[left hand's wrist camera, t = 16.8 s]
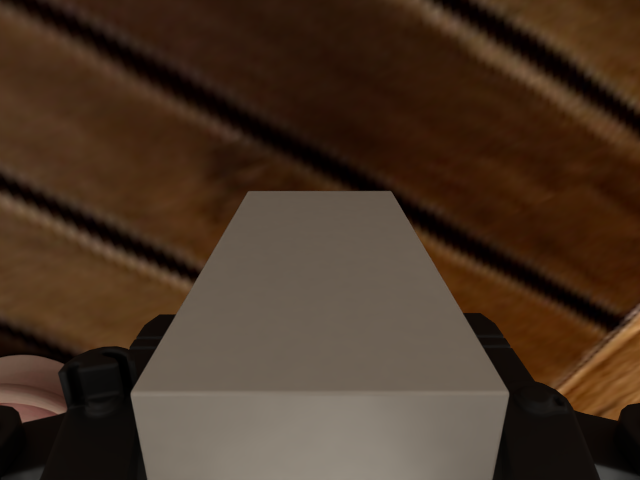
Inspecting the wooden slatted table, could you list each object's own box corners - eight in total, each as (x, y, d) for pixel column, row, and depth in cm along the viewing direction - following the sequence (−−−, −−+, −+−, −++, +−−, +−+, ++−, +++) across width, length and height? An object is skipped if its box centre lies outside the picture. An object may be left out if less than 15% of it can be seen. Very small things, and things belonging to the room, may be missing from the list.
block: (383, 323, 17) (462, 637, 8) (256, 323, 17) (177, 637, 8) (391, 190, 15) (511, 392, 6) (247, 190, 15) (128, 393, 6)
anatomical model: (148, 582, 26) (-46, 578, 26) (170, 517, 29) (1, 514, 29) (110, 405, 21) (-129, 401, 21) (142, 354, 24) (-60, 350, 25)
